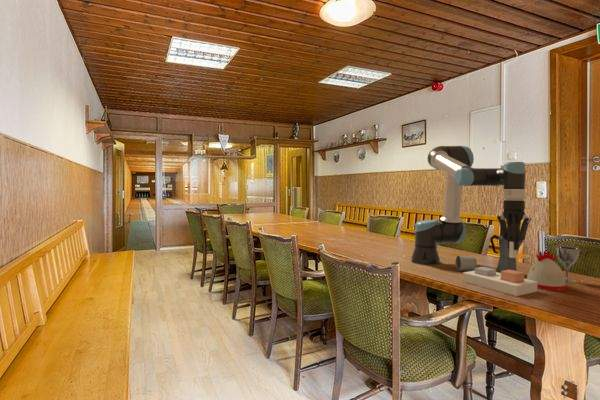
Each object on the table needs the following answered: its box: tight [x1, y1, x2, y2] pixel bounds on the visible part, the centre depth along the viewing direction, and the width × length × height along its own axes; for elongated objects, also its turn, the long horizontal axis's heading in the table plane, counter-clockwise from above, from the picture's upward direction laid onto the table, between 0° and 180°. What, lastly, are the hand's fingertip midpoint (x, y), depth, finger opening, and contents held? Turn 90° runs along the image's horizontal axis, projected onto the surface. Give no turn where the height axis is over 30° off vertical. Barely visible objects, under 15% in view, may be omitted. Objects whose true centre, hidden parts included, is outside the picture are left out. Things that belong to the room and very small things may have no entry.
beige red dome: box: [526, 250, 567, 291], centre depth 152 cm, size 14×14×15 cm
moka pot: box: [489, 234, 525, 273], centre depth 174 cm, size 10×15×20 cm, turn 41°
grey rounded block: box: [474, 266, 497, 276], centre depth 156 cm, size 6×6×4 cm
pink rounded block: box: [501, 269, 525, 283], centre depth 146 cm, size 6×6×4 cm
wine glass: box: [556, 245, 580, 284], centre depth 160 cm, size 8×8×15 cm
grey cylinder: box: [455, 255, 478, 272], centre depth 180 cm, size 11×8×8 cm
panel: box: [462, 270, 538, 297], centre depth 151 cm, size 24×14×4 cm, turn 28°
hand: (513, 257), depth 145 cm, fingers closed
